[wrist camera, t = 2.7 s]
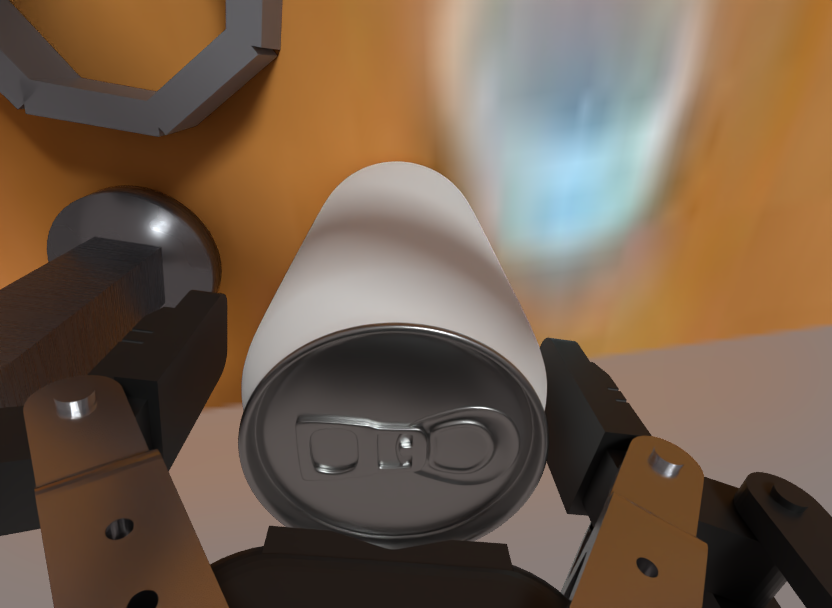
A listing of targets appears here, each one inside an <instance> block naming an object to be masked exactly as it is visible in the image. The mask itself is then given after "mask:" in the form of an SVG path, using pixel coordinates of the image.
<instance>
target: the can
mask: <svg viewBox="0 0 832 608" xmlns="http://www.w3.org/2000/svg"><path fill="white" fill-rule="evenodd" d="M546 397H547V378H546V370H545V365H544V361H543V358H542V354H541V351H540V348H539V345H538V342H537V340H536V337H535V335H534V333H533V330H532V328H531V326H530V324H529V322H528V320H527V317H526V315H525V313H524V311H523V309H522V307H521V305H520V303H519V301H518V299H517V297H516V295H515V293H514V291H513V289H512V287H511V285H510V283H509V281H508V279H507V277H506V275H505V273H504V271H503V269H502V267H501V265H500V263H499V261H498V259H497V257H496V255H495V253H494V251H493V249H492V247H491V245H490V243H489V241H488V239H487V237H486V235H485V233H484V231H483V229H482V227H481V225H480V223H479V221H478V220H477V218H476V216H475V214H474V212H473V210H472V208H471V207H470V205H469V203H468V201H467V200H466V198H465V197H464V195H463V194H462V193H461V192H460V190H459V189H458V188H457V187H456V186H455V185H454V184H453V183H452V182H451V181H449V180H448V179H447V178H446V177H444V176H443V175H441V174H440V173H438V172H436V171H434V170H432V169H430V168H427V167H425V166H422V165H419V164H414V163H409V162H384V163H379V164H375V165H371V166H368V167H366V168H363V169H361V170H359V171H357V172H355V173H354V174H352V175H350V176H349V177H348V178H346V179H345V180H344V181H343V182H342V183H340V184H339V185H338V186H337V187H336V188H335V190H334V191H333V192H332V193H331V195H330V196H329V197H328V199H327V200H326V202H325V204H324V205H323V207H322V209H321V211H320V212H319V214H318V216H317V218H316V219H315V221H314V223H313V225H312V227H311V229H310V230H309V232H308V234H307V236H306V238H305V240H304V241H303V243H302V245H301V247H300V249H299V251H298V252H297V254H296V256H295V258H294V260H293V262H292V264H291V266H290V267H289V269H288V271H287V273H286V275H285V277H284V279H283V281H282V282H281V284H280V286H279V288H278V290H277V292H276V294H275V296H274V298H273V299H272V301H271V303H270V305H269V307H268V309H267V311H266V313H265V315H264V317H263V319H262V321H261V323H260V325H259V327H258V329H257V331H256V334H255V336H254V338H253V340H252V342H251V345H250V348H249V351H248V354H247V357H246V361H245V364H244V369H243V374H242V404H243V411H244V412H243V415H242V419H241V423H240V428H239V436H238V449H239V457H240V462H241V466H242V469H243V473H244V475H245V478H246V480H247V482H248V484H249V486H250V488H251V490H252V492H253V493H254V495H255V496H256V498H257V499H258V500H259V502H260V503H261V504H262V505H263V506H264V507H265V509H266V510H267V511H268V512H269V513H270V514H271V515H272V516H273V517H275V518H276V519H277V520H278V521H279V522H280V523H282V524H283V525H284V526H286V527H291V528H304V529H317V530H330V531H333V532H337V533H340V534H343V535H346V536H349V537H352V538H355V539H358V540H361V541H365V542H368V543H371V544H374V545H377V546H380V547H383V548H387V549H401V548H407V547H413V546H418V545H424V544H430V543H435V542H441V541H447V540H461V541H475V540H477V539H479V538H481V537H483V536H485V535H487V534H488V533H490V532H492V531H493V530H495V529H496V528H498V527H499V526H501V525H502V524H503V523H505V522H506V521H507V520H508V519H509V518H511V517H512V516H513V515H514V514H515V513H516V512H517V511H518V510H519V509H520V508H521V507H522V506H523V505H524V503H525V502H526V501H527V500H528V499H529V497H530V496H531V494H532V493H533V491H534V490H535V488H536V486H537V485H538V483H539V481H540V478H541V476H542V474H543V471H544V468H545V465H546V461H547V457H548V450H549V429H548V423H547V418H546V415H545V406H546Z"/></svg>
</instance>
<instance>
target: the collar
mask: <svg viewBox="0 0 832 608" xmlns="http://www.w3.org/2000/svg"><path fill="white" fill-rule="evenodd" d="M281 23H282V0H226V29H225V30H224V31H223V32H222V33H221V34H220V35H219V36H218V37H217V38H216V39H214V40H213V41H212V42H211V43H210V44H209V45H208V46H207V47H206V48H205V49H203V50H202V51H201V52H200V53H199V54H198V55H197V56H196V57H195V58H194V59H192V60H191V61H190V62H189V63H188V64H187V65H186V66H185V67H184V68H183V69H181V70H180V71H179V72H178V73H177V74H176V75H175V76H174V77H173V78H172V79H171V80H169V81H168V82H167V83H166V84H165V85H164V86H163V87H162V88H161V89H160V90H158V91H157V92H156V91H151V90H145V89H140V88H134V87H129V86H123V85H118V84H113V83H107V82H102V81H96V80H91V79H85V78H81V77H80V76H79V75H78V74H77V73H76V72H75V71H74V70H73V69H72V68H71V67H70V66H69V64H68V63H67V62H66V61H65V60H64V59H63V58H62V57H61V56H60V55H59V54H58V53H57V52H56V51H55V49H54V48H53V47H52V46H51V45H50V44H49V43H48V42H47V41H46V40H45V39H44V38H43V37H42V36H41V34H40V33H39V32H38V31H37V30H36V29H35V28H34V27H33V26H32V25H31V24H30V23H29V22H28V21H27V19H26V18H25V17H24V16H23V15H22V14H21V13H20V12H19V11H18V10H17V9H16V8H15V7H14V5H13V4H12V3H11V2H10V1H9V0H0V92H1V93H2V94H3V95H4V96H5V97H6V98H7V99H8V100H9V101H10V102H11V103H12V104H13V105H14V106H15V107H16V108H17V109H25V112H26V114H30V115H36V116H42V117H48V118H54V119H59V120H65V121H71V122H77V123H82V124H88V125H94V126H100V127H105V128H111V129H117V130H123V131H129V132H134V133H140V134H146V135H152V136H157V137H160V136H163V135H168V134H171V133H175V132H178V131H181V130H184V129H188V128H191V127H194V126H197V125H198V124H199V123H200V122H202V121H203V120H204V119H205V118H206V117H207V116H208V115H210V114H211V113H212V112H213V111H214V110H215V109H217V108H218V107H219V106H220V105H221V104H222V103H224V102H225V101H226V100H227V99H228V98H229V97H231V96H232V95H233V94H234V93H235V92H236V91H238V90H239V89H240V88H241V87H242V86H243V85H245V84H246V83H247V82H248V81H249V80H250V79H251V78H253V77H254V76H255V75H256V74H257V73H258V72H260V71H261V70H262V69H263V68H264V67H265V66H267V65H268V64H269V63H270V62H271V61H272V60H274V59H275V58H276V57H277V55H276V53H275V52H274V51H273V49H277V50H280V46H281Z"/></svg>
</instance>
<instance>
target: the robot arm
mask: <svg viewBox="0 0 832 608" xmlns="http://www.w3.org/2000/svg"><path fill="white" fill-rule="evenodd" d="M540 351H541V354H542V358H543V361H544V365H545V370H546V378H547V397H546V406H545V415H546V418H547V423H548V429H549V450H548V457H547V464H548V466H549V469H550V471H551V474H552V476H553V479H554V481H555V484H556V486H557V489H558V491H559V494H560V497H561V499H562V502H563V504H564V507H565V510H566V512H567V514H576V515H587V516H589V518H590V521H591V523H590V525H589V527H588V529H587V531H586V533H585V535H584V538H583V540H582V543H581V545H580V547H579V550H578V552H577V554H576V557H575V559H574V562H573V564H572V567H571V569H570V571H569V573H568V576H567V579H566V581H565V583H564V586H563V588H562V590H561V592H559V591H558V590H557V589H556V588H554V587H553V586H551V585H550V584H548V583H547V582H546V581H544V580H543V579H541V578H539V577H537V576H536V575H534V574H532V573H530V572H528V571H526V570H523V569H521V568H519V567H517V566H514V565H512V563H511V559H510V555H509V551H508V547H507V544H500V543H487V542H474V541H461V540H447V541H441V542H435V543H430V544H424V545H418V546H413V547H407V548H401V549H387V548H383V547H380V546H377V545H374V544H371V543H368V542H365V541H361V540H358V539H355V538H352V537H349V536H346V535H343V534H340V533H337V532H333V531H330V530H317V529H304V528H291V527H278V526H269V528H268V532H267V536H266V540H265V544H264V546H262V547H256V548H251V549H248V550H245V551H241V552H238V553H235V554H232V555H230V556H227V557H225V558H222V559H220V560H218V561H216V562H214V563H212V564H209V562H208V560H207V557H206V555H205V553H204V550H203V548H202V546H201V544H200V541H199V539H198V537H197V535H196V533H195V530H194V528H193V526H192V523H191V521H190V519H189V517H188V515H187V512H186V510H185V508H184V505H183V503H182V501H181V499H180V496H179V494H178V492H177V490H176V488H175V485H174V483H173V481H172V479H171V476H170V475H169V470H170V468H171V466H172V464H173V463H174V461H175V459H176V457H177V455H178V453H179V451H180V450H181V448H182V446H183V444H184V442H185V441H186V439H187V437H188V435H189V433H190V431H191V430H192V428H193V426H194V424H195V422H196V420H197V419H198V417H199V415H200V413H201V411H202V409H203V408H204V406H205V404H206V402H207V400H208V398H209V397H210V395H211V393H212V391H213V389H214V388H215V386H216V384H217V382H218V380H219V378H220V377H221V375H222V372H223V370H224V366H225V362H226V357H227V298H226V295H225V294H222V293H214V292H207V291H199V290H190V291H189V292H188V293H187V294H186V295H185V297H184V298H183V299H182V300H181V301H180V302H179V303H178V304H177V306H176V307H175V308H172V307H162V308H160V309H158V310H156V311H154V312H152V313H150V314H148V315H146V316H144V317H143V318H142V319H141V320H140V321H139V322H138V323H137V324H136V325H135V326H134V327H133V328H132V331H129V332H128V333H127V334H126V336H125V337H124V338H123V339H122V342H119V343H118V344H117V345H116V346H115V347H114V348H113V349H112V350H111V351H110V352H109V353H108V354H107V355H106V356H105V357H104V358H103V359H102V360H101V361H100V362H99V363H98V364H97V365H96V366H95V367H94V368H93V369H92V370H91V371H90V372H89V373H88V374H87V375H81V376H74V377H68V378H65V379H61V380H58V381H55V382H52V383H50V384H48V385H46V386H44V387H42V388H40V389H39V390H37V391H36V392H35V393H33V394H32V395H31V396H30V397H29V398H28V399H27V401H26V402H25V405H23V406H15V407H5V408H0V536H2V535H8V534H13V533H19V532H24V531H30V530H35V529H41V533H42V539H43V545H44V551H45V557H46V563H47V569H48V574H49V580H50V587H51V592H52V599H53V604H54V608H781V607H780V605H779V604H778V602H777V601H776V599H775V598H774V596H775V594H776V593H777V592H778V591H779V590H780V588H781V587H782V586H783V585H784V584H785V582H786V581H788V583H789V584H790V586H791V587H792V588H793V590H794V591H795V593H796V594H797V595H798V597H799V598H800V599H801V601H802V602H803V604H804V605H805V607H806V608H832V517H831V516H830V515H829V513H828V512H827V511H826V510H825V509H824V508H823V507H822V506H821V505H820V504H819V503H818V502H817V501H816V500H815V499H814V498H813V497H812V496H810V495H809V494H808V493H806V492H805V491H803V490H802V489H801V488H799V487H797V486H796V485H794V484H792V483H791V482H789V481H787V480H785V479H783V478H780V477H778V476H775V475H771V474H768V473H762V472H756V473H755V472H754V473H751V474H749V475H748V476H747V478H746V479H745V481H744V482H743V484H742V485H741V487H740V488H737V487H734V486H731V485H727V484H724V483H722V482H718V481H716V480H713V479H709V478H707V477H704V474H703V471H702V469H701V467H700V466H699V465H698V463H697V462H696V461H695V460H694V459H693V458H692V457H691V456H690V455H689V454H688V453H687V452H685V451H684V450H682V449H681V448H679V447H678V446H676V445H674V444H672V443H671V442H668V441H666V440H664V439H661V438H657V437H653V436H651V434H650V433H649V431H648V430H647V429H646V427H645V426H644V424H643V423H642V421H641V420H640V419H639V417H638V416H637V414H636V413H635V412H634V410H633V409H632V407H631V406H630V404H629V403H626V399H625V397H624V396H623V394H622V393H621V391H618V387H617V386H616V384H615V383H614V382H613V380H612V379H611V377H610V376H609V375H608V374H607V373H606V372H605V371H603V370H602V369H601V368H600V367H598V366H597V365H596V364H595V363H593V362H590V361H589V360H588V358H587V357H586V355H585V354H584V352H583V351H582V349H581V348H580V346H579V345H578V343H577V342H575V341H569V340H561V339H554V338H546V339H545V340H544V341H543V342H542V344H541V346H540Z"/></svg>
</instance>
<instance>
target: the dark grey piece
mask: <svg viewBox="0 0 832 608" xmlns="http://www.w3.org/2000/svg"><path fill="white" fill-rule="evenodd" d="M47 254H48V261H49V262H48V263H47V264H45V265H43V266H41V267H40V268H38V269H36V270H34V271H32V272H31V273H29V274H27V275H25V276H24V277H22V278H20V279H18V280H17V281H15V282H13V283H11V284H9V285H8V286H6V287H4V288H2V289H1V290H0V408H5V407H15V406H23V405H25V402H26V401H27V399H28V398H29V397H30V396H31V395H32V394H33V393H35V392H36V391H37V390H39V389H40V388H42V387H44V386H46V385H48V384H50V383H52V382H55V381H58V380H61V379H65V378H68V377H74V376H81V375H87V374H88V373H89V372H90V371H91V370H92V369H93V368H94V367H95V366H96V365H97V364H98V363H99V362H100V361H101V360H102V359H103V358H104V357H105V356H106V355H107V354H108V353H109V352H110V351H111V350H112V349H113V348H114V347H115V346H116V345H117V344H118V343H119V342H122V339H123V338H124V337H125V336H126V334H127V333H128V332H129V331H132V328H133V327H134V326H135V325H136V324H137V323H138V322H139V321H140V320H141V319H142V318H143V317H144V316H146V315H148V314H150V313H152V312H154V311H156V310H158V309H160V308H162V307H172V308H175V307H176V306H177V304H178V303H179V302H180V301H181V300H182V299H183V298H184V297H185V295H186V294H187V293H188V292H189V291H190V290H199V291H207V292H214V293H217V291H218V288H219V285H220V281H221V260H220V256H219V252H218V249H217V246H216V244H215V242H214V240H213V238H212V236H211V234H210V233H209V231H208V230H207V228H206V227H205V225H204V224H203V223H202V222H201V221H200V219H199V218H198V217H197V216H196V215H195V214H194V213H192V212H191V211H190V210H189V209H188V208H186V207H185V206H184V205H183V204H181V203H180V202H178V201H176V200H175V199H173V198H171V197H169V196H167V195H165V194H163V193H161V192H158V191H155V190H152V189H148V188H144V187H138V186H115V187H109V188H106V189H102V190H99V191H97V192H95V193H92V194H90V195H87V196H85V197H83V198H80V199H78V200H76V201H74V202H72V203H71V204H69V205H68V206H67V207H65V208H64V209H63V210H62V211H61V212H60V213H59V214H58V216H57V217H56V219H55V220H54V222H53V223H52V226H51V228H50V231H49V235H48V240H47Z"/></svg>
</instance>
